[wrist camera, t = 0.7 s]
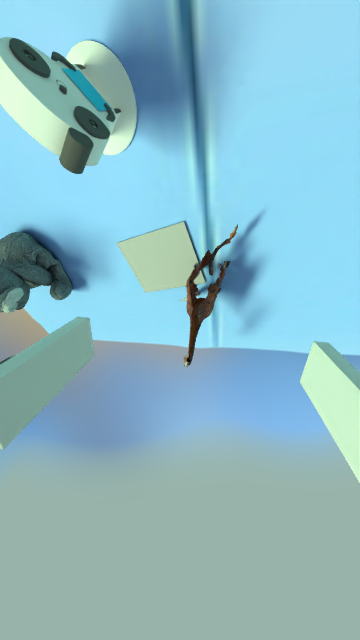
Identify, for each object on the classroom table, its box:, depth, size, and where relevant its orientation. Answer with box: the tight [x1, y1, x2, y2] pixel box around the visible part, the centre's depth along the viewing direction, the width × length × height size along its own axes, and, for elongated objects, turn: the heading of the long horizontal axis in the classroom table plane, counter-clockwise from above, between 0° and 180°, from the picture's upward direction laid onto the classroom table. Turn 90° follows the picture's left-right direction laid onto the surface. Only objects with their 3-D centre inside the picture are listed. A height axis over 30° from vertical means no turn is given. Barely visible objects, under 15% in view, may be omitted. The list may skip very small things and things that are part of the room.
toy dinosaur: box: [184, 224, 238, 367], centre depth 42 cm, size 8×30×15 cm, turn 177°
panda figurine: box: [0, 37, 137, 174], centre depth 25 cm, size 12×11×15 cm
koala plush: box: [0, 232, 72, 313], centre depth 51 cm, size 17×18×20 cm
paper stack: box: [117, 222, 205, 301], centre depth 51 cm, size 23×25×1 cm
